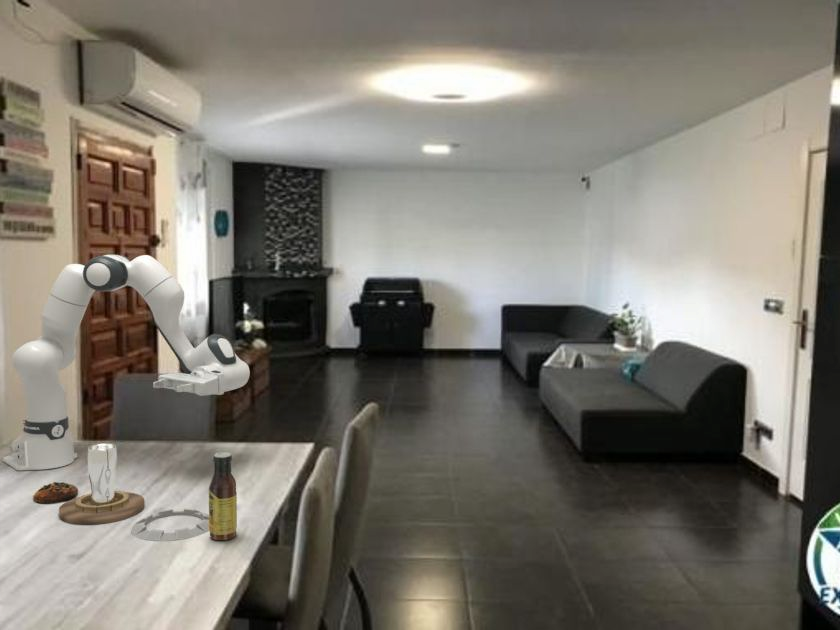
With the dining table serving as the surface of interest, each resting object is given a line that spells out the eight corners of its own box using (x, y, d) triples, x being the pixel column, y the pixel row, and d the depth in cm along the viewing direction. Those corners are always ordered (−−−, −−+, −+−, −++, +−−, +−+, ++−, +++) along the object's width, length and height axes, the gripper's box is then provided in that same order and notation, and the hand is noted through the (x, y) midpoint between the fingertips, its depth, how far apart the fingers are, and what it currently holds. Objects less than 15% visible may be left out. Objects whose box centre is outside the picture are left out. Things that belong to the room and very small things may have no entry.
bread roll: (60, 505, 185) (57, 486, 185) (23, 507, 187) (21, 488, 187) (88, 493, 196) (86, 475, 196) (53, 495, 198) (51, 477, 198)
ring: (219, 511, 185) (219, 504, 184) (210, 541, 166) (210, 532, 165) (140, 514, 181) (140, 507, 181) (122, 545, 162) (122, 536, 162)
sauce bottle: (212, 531, 170) (211, 449, 168) (238, 531, 170) (238, 449, 169) (206, 542, 163) (205, 457, 162) (234, 542, 164) (234, 457, 162)
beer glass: (106, 510, 179) (105, 451, 177) (82, 507, 180) (80, 449, 179) (123, 500, 185) (122, 444, 184) (99, 498, 187) (98, 442, 186)
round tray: (42, 513, 180) (42, 501, 179) (114, 492, 196) (114, 481, 196) (89, 531, 169) (88, 518, 168) (160, 507, 185) (160, 496, 185)
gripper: (181, 366, 219) (142, 372, 208) (227, 373, 208) (188, 380, 197) (181, 387, 220) (142, 393, 208) (227, 394, 209) (188, 402, 197)
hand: (165, 387), depth 202 cm, fingers open, 8 cm apart
